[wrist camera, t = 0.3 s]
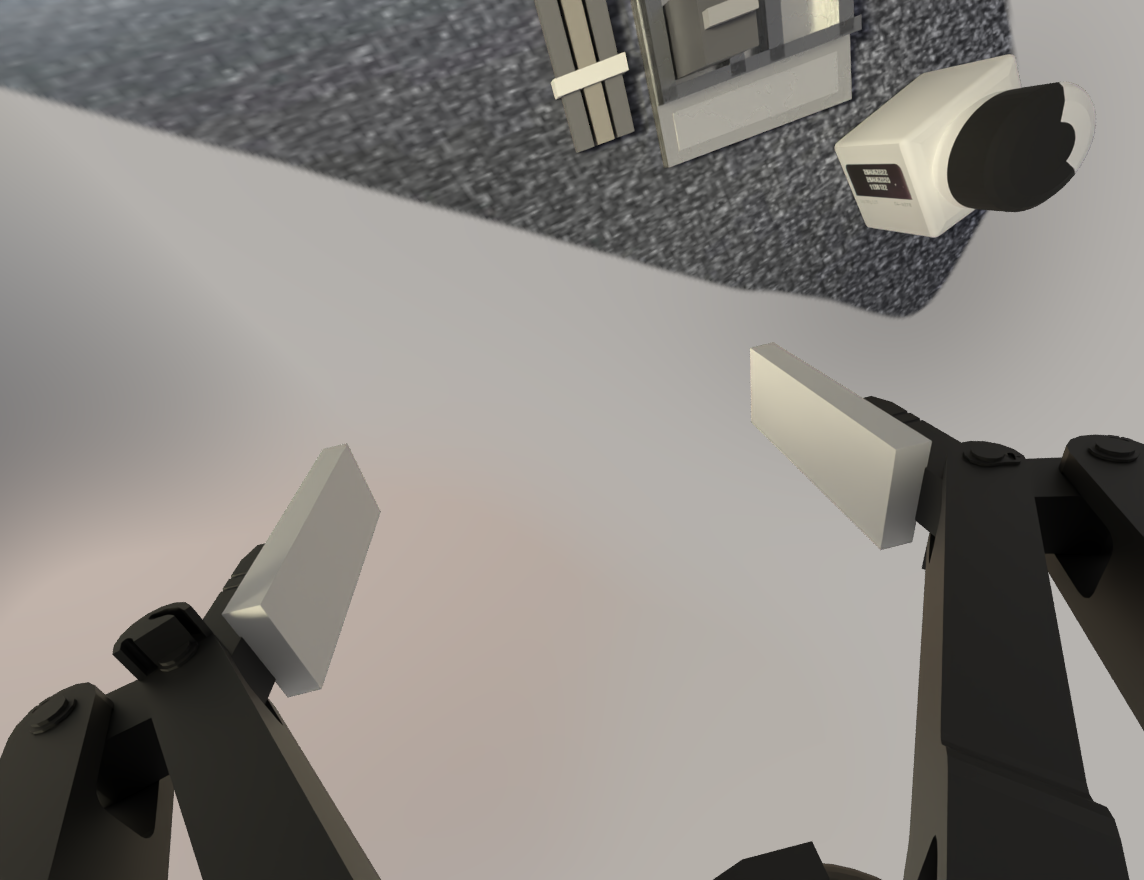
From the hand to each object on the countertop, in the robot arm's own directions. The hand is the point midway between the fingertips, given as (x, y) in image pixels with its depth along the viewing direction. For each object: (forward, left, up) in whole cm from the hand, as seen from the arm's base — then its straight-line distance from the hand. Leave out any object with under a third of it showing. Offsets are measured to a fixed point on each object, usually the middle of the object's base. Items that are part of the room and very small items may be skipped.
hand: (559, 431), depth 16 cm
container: (+1, +31, -28) cm, 42 cm away
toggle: (-11, +16, -26) cm, 32 cm away
